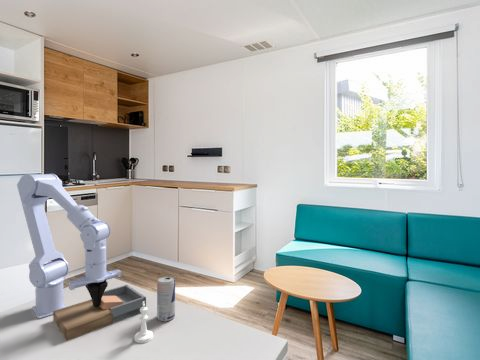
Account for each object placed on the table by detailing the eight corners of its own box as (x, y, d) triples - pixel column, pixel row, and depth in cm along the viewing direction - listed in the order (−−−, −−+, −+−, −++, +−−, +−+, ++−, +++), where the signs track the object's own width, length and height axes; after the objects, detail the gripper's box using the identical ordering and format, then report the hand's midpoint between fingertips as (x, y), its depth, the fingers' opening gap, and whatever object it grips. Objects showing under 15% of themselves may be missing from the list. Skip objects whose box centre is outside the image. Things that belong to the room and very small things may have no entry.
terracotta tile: (95, 302, 90) (97, 296, 90) (114, 301, 94) (115, 295, 94) (102, 309, 85) (104, 302, 86) (121, 308, 90) (123, 301, 90)
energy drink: (177, 313, 90) (177, 276, 90) (171, 322, 85) (171, 283, 85) (161, 312, 91) (161, 275, 90) (154, 321, 86) (154, 282, 85)
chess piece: (135, 345, 74) (135, 307, 74) (133, 335, 78) (132, 299, 78) (154, 340, 76) (154, 303, 76) (151, 330, 81) (151, 296, 80)
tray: (94, 307, 93) (94, 294, 93) (126, 296, 101) (126, 284, 101) (111, 324, 84) (111, 309, 84) (146, 310, 92) (146, 297, 92)
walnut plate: (53, 320, 85) (53, 311, 85) (95, 307, 94) (95, 298, 94) (67, 340, 75) (67, 329, 75) (113, 323, 84) (113, 313, 84)
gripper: (73, 271, 79) (74, 319, 79) (125, 259, 89) (125, 302, 90) (66, 265, 84) (66, 310, 84) (115, 254, 94) (116, 295, 95)
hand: (96, 305), depth 87 cm, fingers closed
